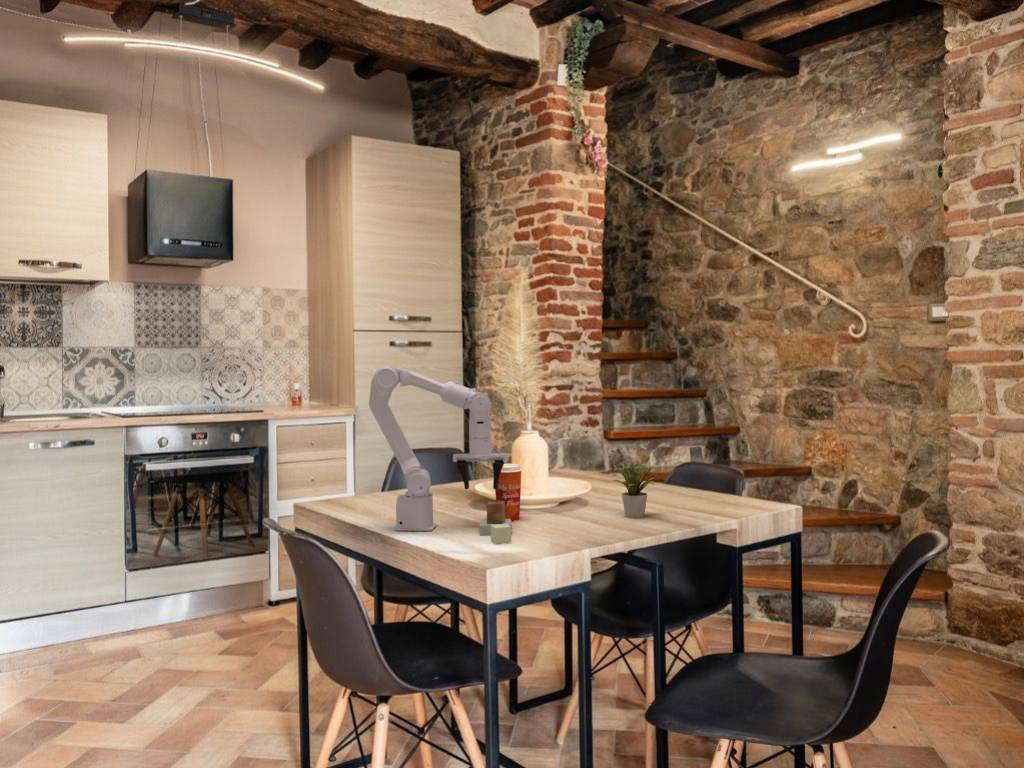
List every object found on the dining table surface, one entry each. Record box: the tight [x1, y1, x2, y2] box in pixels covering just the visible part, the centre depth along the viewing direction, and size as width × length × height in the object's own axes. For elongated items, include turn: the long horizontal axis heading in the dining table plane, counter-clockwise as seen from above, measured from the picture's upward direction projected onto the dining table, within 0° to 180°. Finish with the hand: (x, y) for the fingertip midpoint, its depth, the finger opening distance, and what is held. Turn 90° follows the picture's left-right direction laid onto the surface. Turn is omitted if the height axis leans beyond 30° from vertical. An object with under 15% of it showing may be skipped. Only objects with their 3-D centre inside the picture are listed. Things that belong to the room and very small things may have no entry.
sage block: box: [490, 524, 512, 545], centre depth 200 cm, size 4×4×4 cm
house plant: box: [610, 457, 661, 519], centre depth 227 cm, size 14×14×16 cm
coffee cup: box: [494, 463, 524, 522], centre depth 227 cm, size 8×8×15 cm
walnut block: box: [486, 500, 505, 524], centre depth 211 cm, size 4×4×5 cm
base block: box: [479, 518, 513, 537], centre depth 211 cm, size 8×8×3 cm
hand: (481, 488), depth 219 cm, fingers open, 7 cm apart
